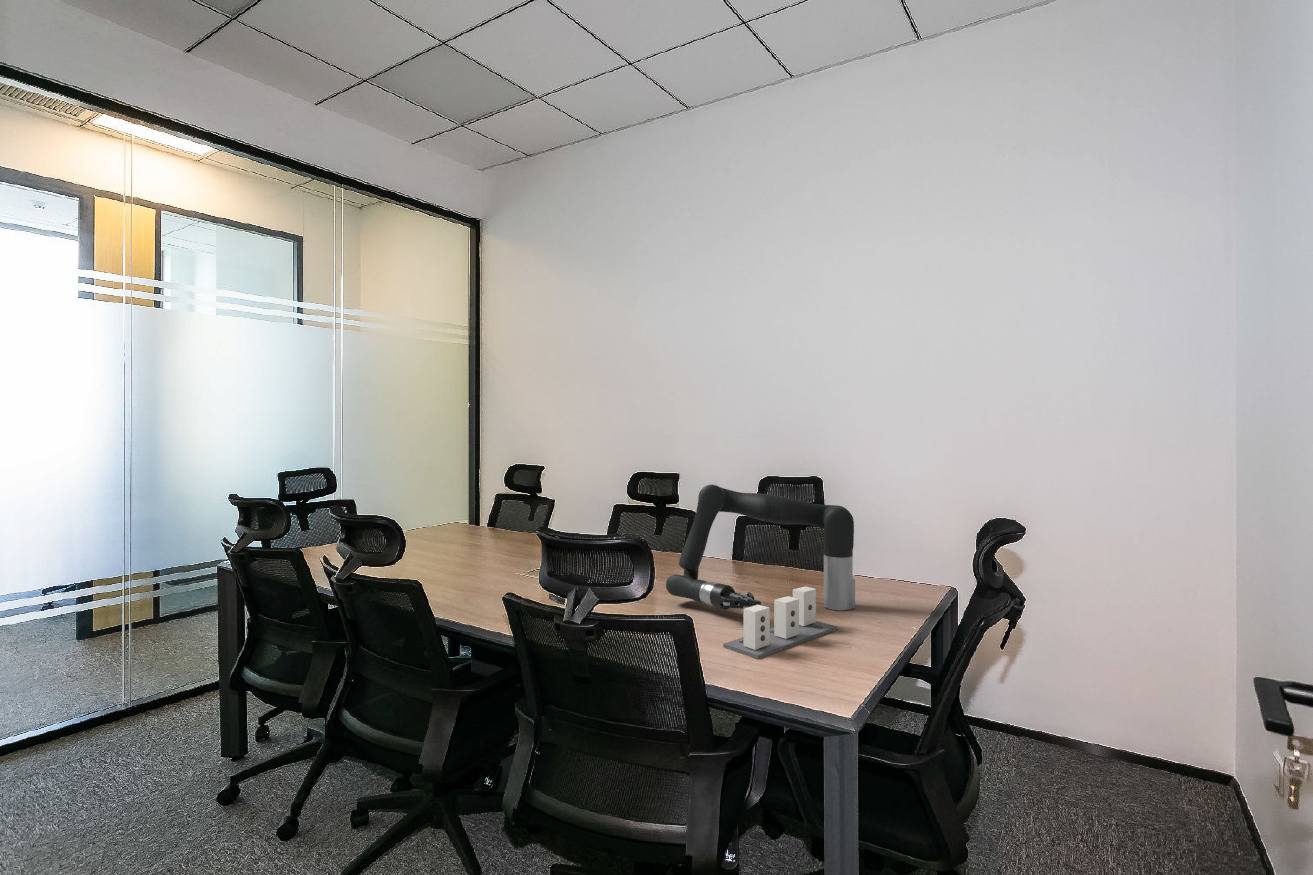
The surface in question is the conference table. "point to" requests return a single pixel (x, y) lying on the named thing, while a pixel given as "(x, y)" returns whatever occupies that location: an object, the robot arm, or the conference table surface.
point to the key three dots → (756, 626)
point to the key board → (781, 640)
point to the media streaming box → (557, 599)
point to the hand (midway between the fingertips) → (759, 605)
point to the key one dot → (806, 605)
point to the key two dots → (786, 617)
